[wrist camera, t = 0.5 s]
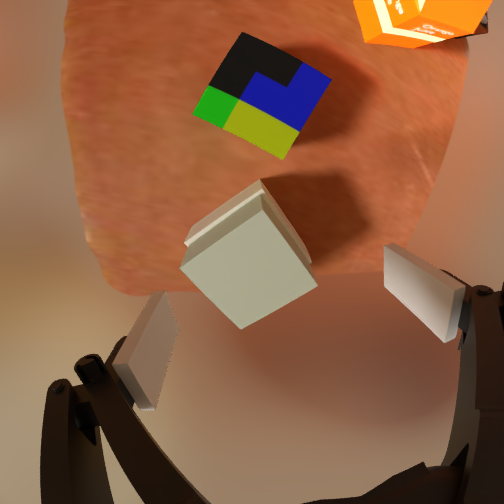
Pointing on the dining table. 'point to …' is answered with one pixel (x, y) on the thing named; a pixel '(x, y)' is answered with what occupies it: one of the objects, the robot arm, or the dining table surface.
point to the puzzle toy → (262, 95)
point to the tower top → (248, 264)
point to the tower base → (235, 204)
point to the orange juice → (418, 20)
